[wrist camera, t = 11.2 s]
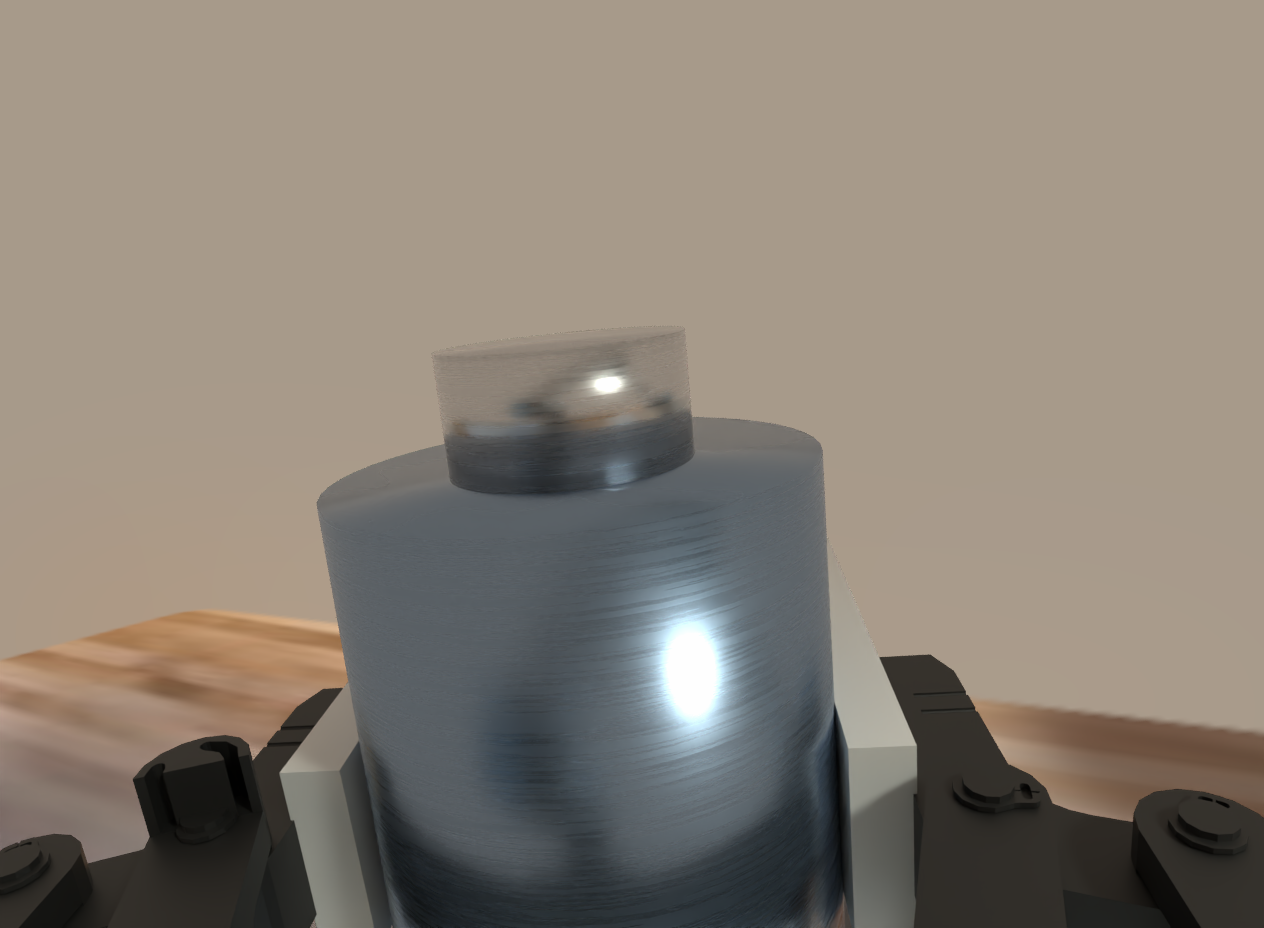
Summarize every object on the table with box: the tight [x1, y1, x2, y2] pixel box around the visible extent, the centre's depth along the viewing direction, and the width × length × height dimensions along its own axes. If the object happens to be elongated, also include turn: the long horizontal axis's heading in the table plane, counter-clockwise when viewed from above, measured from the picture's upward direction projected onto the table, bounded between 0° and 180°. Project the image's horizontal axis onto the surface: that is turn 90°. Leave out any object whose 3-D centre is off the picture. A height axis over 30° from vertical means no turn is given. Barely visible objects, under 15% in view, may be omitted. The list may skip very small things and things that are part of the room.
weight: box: [317, 326, 845, 928], centre depth 11 cm, size 6×6×12 cm
